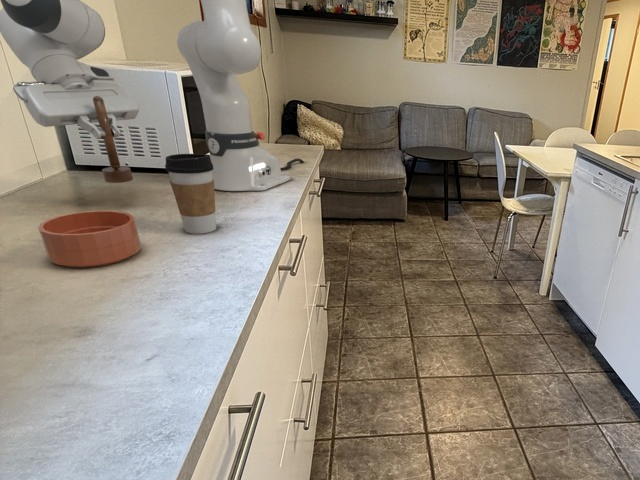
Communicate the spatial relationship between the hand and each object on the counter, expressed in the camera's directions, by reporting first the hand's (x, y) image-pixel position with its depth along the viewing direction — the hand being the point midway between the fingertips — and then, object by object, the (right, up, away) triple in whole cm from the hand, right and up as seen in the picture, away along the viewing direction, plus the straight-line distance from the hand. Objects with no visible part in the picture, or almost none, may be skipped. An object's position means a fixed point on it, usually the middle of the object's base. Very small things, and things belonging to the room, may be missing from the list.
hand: (109, 136), depth 100 cm
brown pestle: (-1, -8, +5) cm, 9 cm away
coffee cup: (+21, -20, -2) cm, 29 cm away
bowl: (+10, -27, -17) cm, 33 cm away
